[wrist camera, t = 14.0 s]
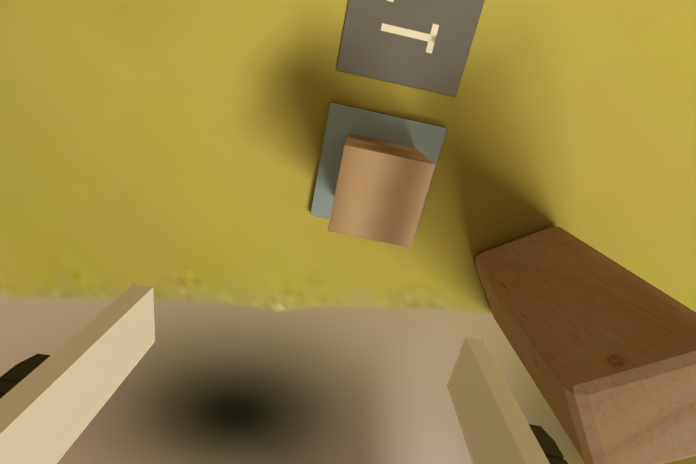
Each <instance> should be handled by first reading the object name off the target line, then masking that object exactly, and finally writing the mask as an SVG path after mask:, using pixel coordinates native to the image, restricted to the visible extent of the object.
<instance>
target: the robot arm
mask: <svg viewBox="0 0 696 464" xmlns="http://www.w3.org/2000/svg"><path fill="white" fill-rule="evenodd" d="M154 342H155V327H154V298H153V287H149V286H143V285H137V284H133V285H132V286H131V287H130V288H129V289H127V290H126V291H125V292H124V293H123V294H122V295H120V296H119V297H118V298H117V299H116V300H115V301H114V302H112V303H111V304H110V305H109V306H108V307H107V308H105V309H104V310H103V311H102V312H101V313H100V314H99V315H97V316H96V317H95V318H94V319H93V320H91V321H90V322H89V323H88V324H87V325H86V326H84V328H82V329H81V330H80V331H79V332H77V333H76V334H75V335H74V336H73V337H72V338H71V339H69V340H68V341H67V342H66V343H65V344H64V345H62V346H61V347H60V348H59V349H58V350H57V351H55V352H54V353H53V354H52V355H51V356H50V355H42V354H36V355H35V356H33V357H31V358H29V359H27V360H25V361H23V362H21V363H19V364H17V365H15V366H14V367H13V368H12V369H10V370H9V371H8V372H7V373H6V374H4V375H3V376H2V377H0V464H57V463H58V461H59V460H60V459H61V458H62V456H63V455H64V454H65V453H66V451H67V450H68V449H69V448H70V446H71V445H72V444H73V443H74V441H75V440H76V439H77V438H78V436H79V435H80V434H81V433H82V431H83V430H84V429H85V428H86V426H87V425H88V424H89V423H90V421H91V420H92V419H93V418H94V416H95V415H96V414H97V413H98V412H99V410H100V409H101V408H102V406H103V405H104V404H105V403H106V402H107V400H108V399H109V398H110V397H111V395H112V394H113V393H114V392H115V390H116V389H117V388H118V386H119V385H120V384H121V383H122V382H123V380H124V379H125V378H126V377H127V375H128V374H129V373H130V372H131V370H132V369H133V368H134V367H135V366H136V364H137V363H138V362H139V361H140V359H141V358H142V357H143V356H144V354H145V353H146V352H147V351H148V349H149V348H150V346H152V344H153V343H154ZM447 386H448V390H449V392H450V395H451V398H452V402H453V405H454V408H455V411H456V413H457V417H458V420H459V423H460V426H461V429H462V432H463V435H464V438H465V441H466V444H467V447H468V450H469V453H470V456H471V459H472V462H473V464H568V463H567V462H566V460H564V457H563V455H562V453H561V452H560V450H559V448H558V447H557V445H556V443H555V441H554V440H553V439H552V438H551V437H550V436H549V435H548V434H547V433H546V432H545V431H544V430H543V429H542V427H541V426H536V425H529V424H528V422H527V421H526V419H525V417H524V415H523V413H522V411H521V409H520V408H519V406H518V404H517V402H516V400H515V398H514V396H513V395H512V393H511V391H510V389H509V387H508V385H507V383H506V382H505V380H504V378H503V376H502V374H501V372H500V371H499V369H498V367H497V365H496V363H495V362H494V359H493V358H492V356H491V354H490V352H489V350H488V348H487V347H486V345H485V343H484V341H483V340H480V339H475V338H469V337H466V338H465V340H464V343H463V346H462V348H461V351H460V353H459V356H458V358H457V361H456V364H455V366H454V369H453V372H452V374H451V377H450V379H449V382H448V384H447Z"/></svg>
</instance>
